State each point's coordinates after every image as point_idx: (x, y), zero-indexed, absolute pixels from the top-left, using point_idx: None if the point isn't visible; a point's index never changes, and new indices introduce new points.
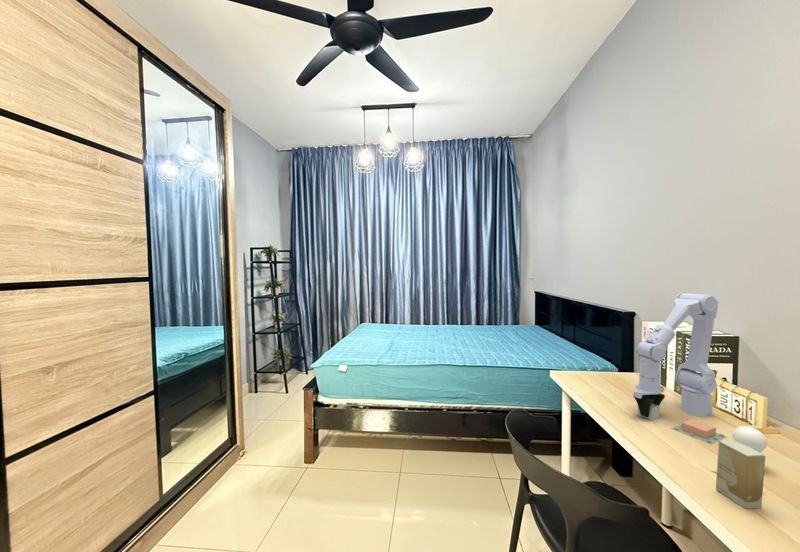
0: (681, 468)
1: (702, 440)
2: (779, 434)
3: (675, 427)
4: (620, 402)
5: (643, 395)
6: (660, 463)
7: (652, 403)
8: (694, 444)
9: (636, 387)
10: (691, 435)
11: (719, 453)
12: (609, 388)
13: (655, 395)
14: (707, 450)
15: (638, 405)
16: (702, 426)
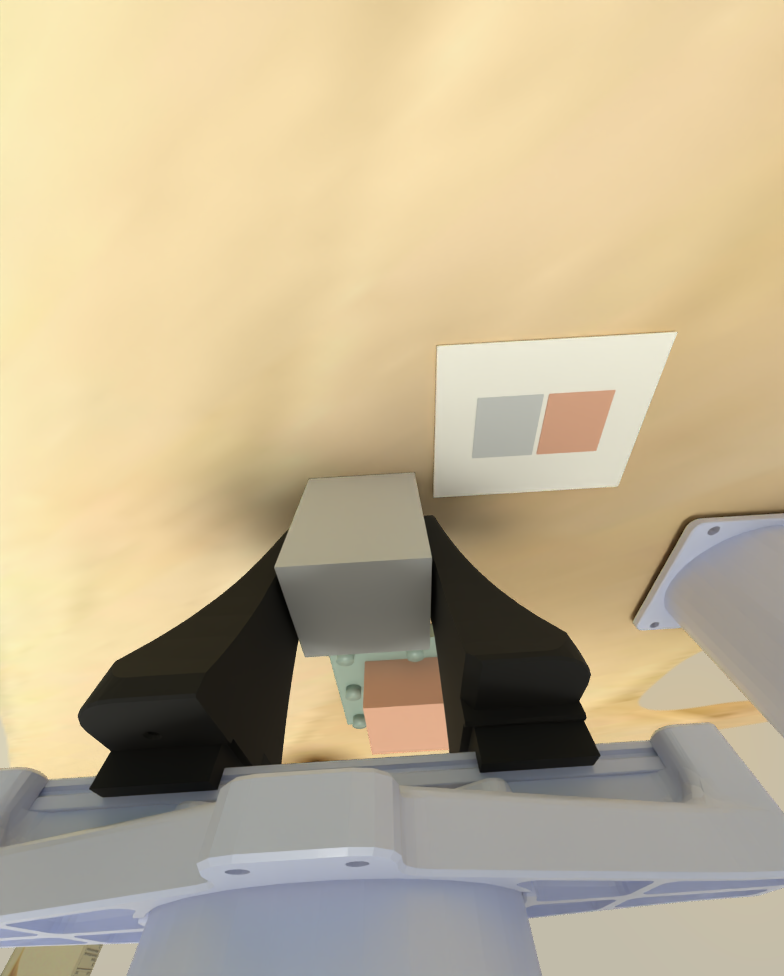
0: (89, 738)
1: (347, 709)
2: (702, 719)
3: (343, 659)
4: (519, 109)
5: (154, 807)
6: (26, 719)
7: (430, 609)
8: (304, 694)
9: (220, 797)
10: (346, 691)
11: (8, 963)
12: None
13: (456, 739)
14: (306, 716)
15: (241, 580)
16: (416, 737)
